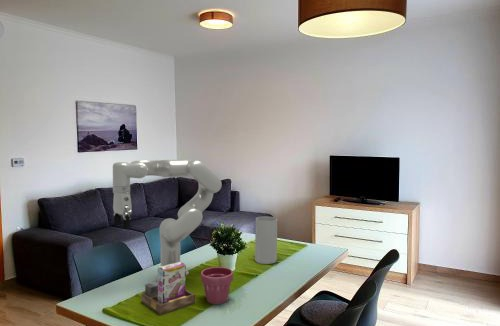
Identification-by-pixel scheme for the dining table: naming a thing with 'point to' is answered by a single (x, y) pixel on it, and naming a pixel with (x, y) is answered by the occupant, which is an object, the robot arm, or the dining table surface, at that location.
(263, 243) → the cylinder vase
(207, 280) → the plant pot
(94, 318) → the dining table surface
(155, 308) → the tray
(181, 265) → the candy bar box
